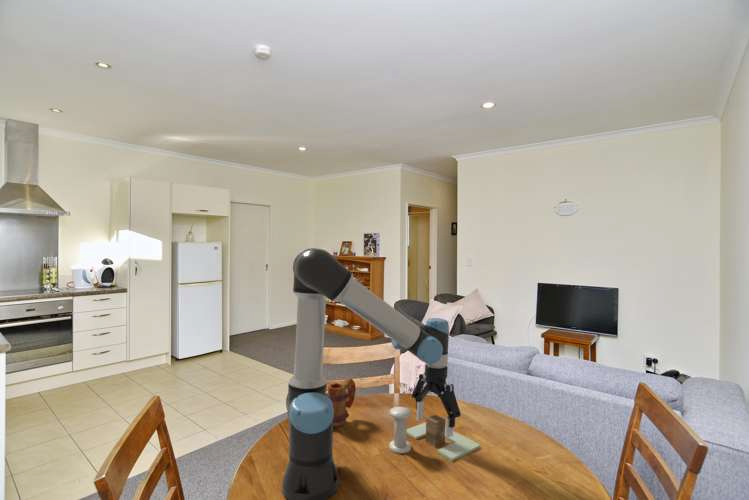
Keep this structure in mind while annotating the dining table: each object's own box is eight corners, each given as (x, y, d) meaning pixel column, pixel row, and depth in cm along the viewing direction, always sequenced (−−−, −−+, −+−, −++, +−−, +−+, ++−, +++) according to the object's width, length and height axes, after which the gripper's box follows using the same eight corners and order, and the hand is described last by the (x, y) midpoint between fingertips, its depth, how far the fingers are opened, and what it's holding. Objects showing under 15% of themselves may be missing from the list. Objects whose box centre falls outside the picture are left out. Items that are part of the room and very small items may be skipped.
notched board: (451, 461, 116) (451, 458, 116) (404, 432, 134) (404, 430, 133) (480, 447, 124) (480, 445, 124) (432, 422, 142) (432, 419, 142)
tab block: (435, 447, 124) (435, 423, 124) (425, 441, 128) (426, 417, 128) (444, 443, 127) (445, 419, 127) (435, 437, 130) (435, 414, 130)
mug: (335, 432, 133) (336, 389, 133) (319, 425, 138) (320, 384, 138) (361, 417, 144) (362, 378, 144) (345, 411, 149) (346, 373, 149)
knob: (398, 456, 118) (399, 418, 118) (385, 446, 124) (385, 410, 124) (415, 449, 122) (416, 412, 122) (401, 440, 128) (401, 405, 128)
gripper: (473, 373, 119) (470, 440, 119) (418, 354, 139) (416, 411, 139) (457, 377, 115) (455, 447, 115) (403, 357, 135) (401, 416, 135)
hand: (434, 427), depth 127 cm, fingers open, 13 cm apart
